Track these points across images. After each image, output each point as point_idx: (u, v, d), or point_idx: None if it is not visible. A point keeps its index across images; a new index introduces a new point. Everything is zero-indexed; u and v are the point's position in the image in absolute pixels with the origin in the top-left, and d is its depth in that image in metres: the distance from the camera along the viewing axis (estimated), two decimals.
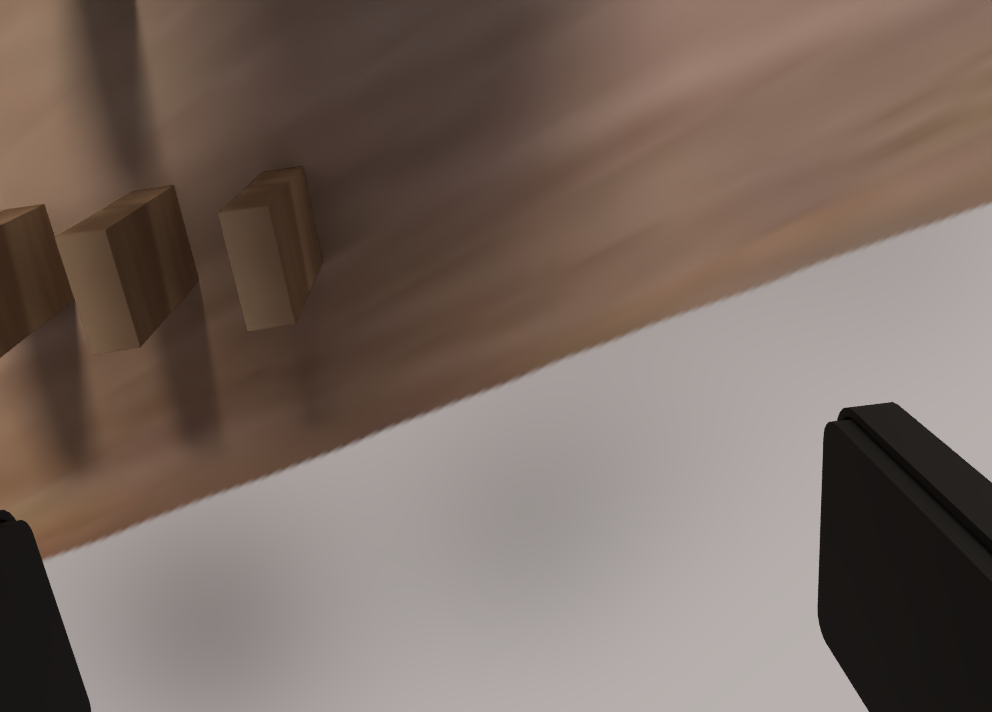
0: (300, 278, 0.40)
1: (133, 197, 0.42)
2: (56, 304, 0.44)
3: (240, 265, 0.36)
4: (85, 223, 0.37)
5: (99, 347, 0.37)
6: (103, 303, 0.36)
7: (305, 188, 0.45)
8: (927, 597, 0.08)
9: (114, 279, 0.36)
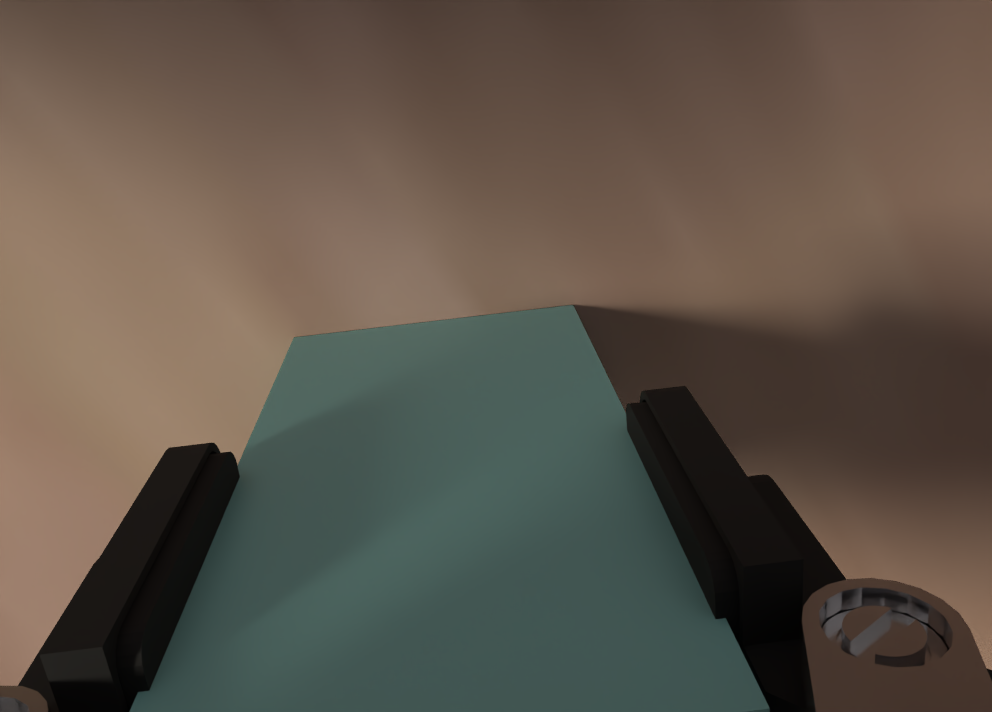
0: None
1: None
2: None
3: None
4: None
5: None
6: None
7: None
8: None
9: None
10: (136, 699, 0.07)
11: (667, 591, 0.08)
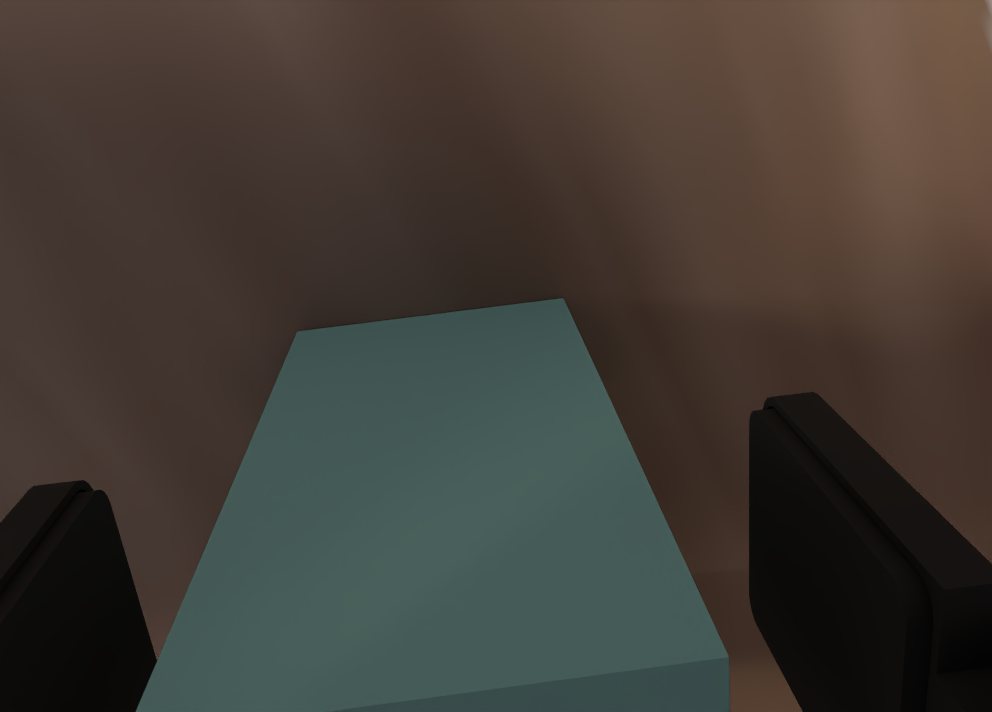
0: None
1: None
2: None
3: None
4: None
5: None
6: None
7: None
8: (830, 575, 0.09)
9: None
10: (161, 658, 0.08)
11: (642, 557, 0.09)
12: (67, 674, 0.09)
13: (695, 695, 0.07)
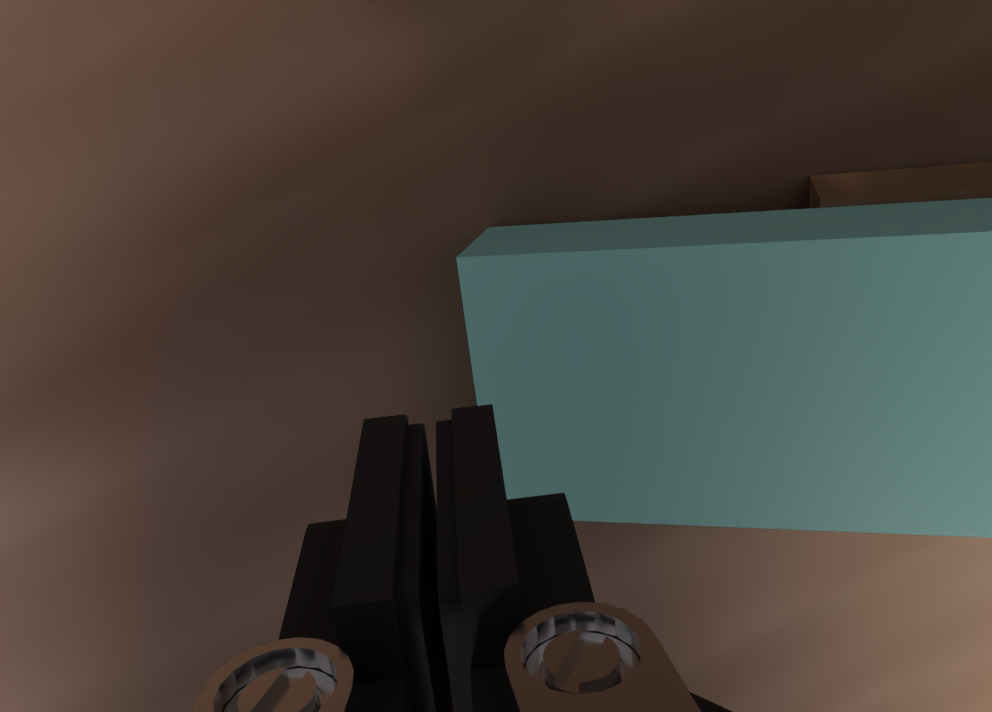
0: None
1: None
2: None
3: None
4: None
5: None
6: None
7: None
8: None
9: None
10: None
11: None
12: (434, 584, 0.10)
13: None
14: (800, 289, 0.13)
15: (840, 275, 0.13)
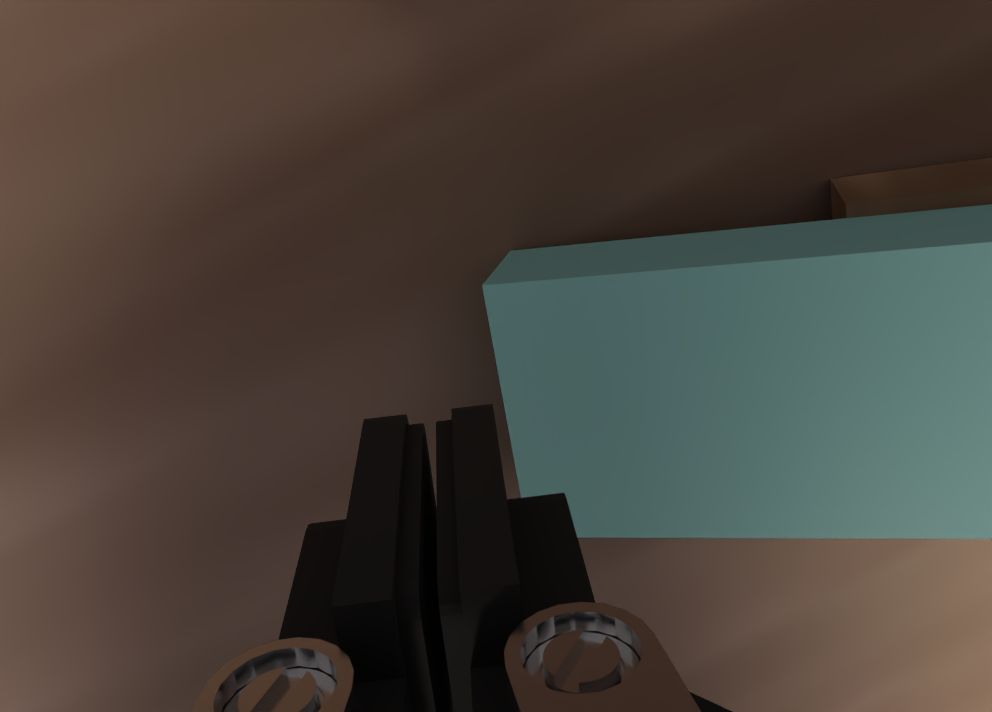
0: None
1: None
2: None
3: None
4: None
5: None
6: None
7: None
8: None
9: None
10: None
11: None
12: (434, 584, 0.10)
13: None
14: (826, 303, 0.14)
15: (865, 288, 0.13)
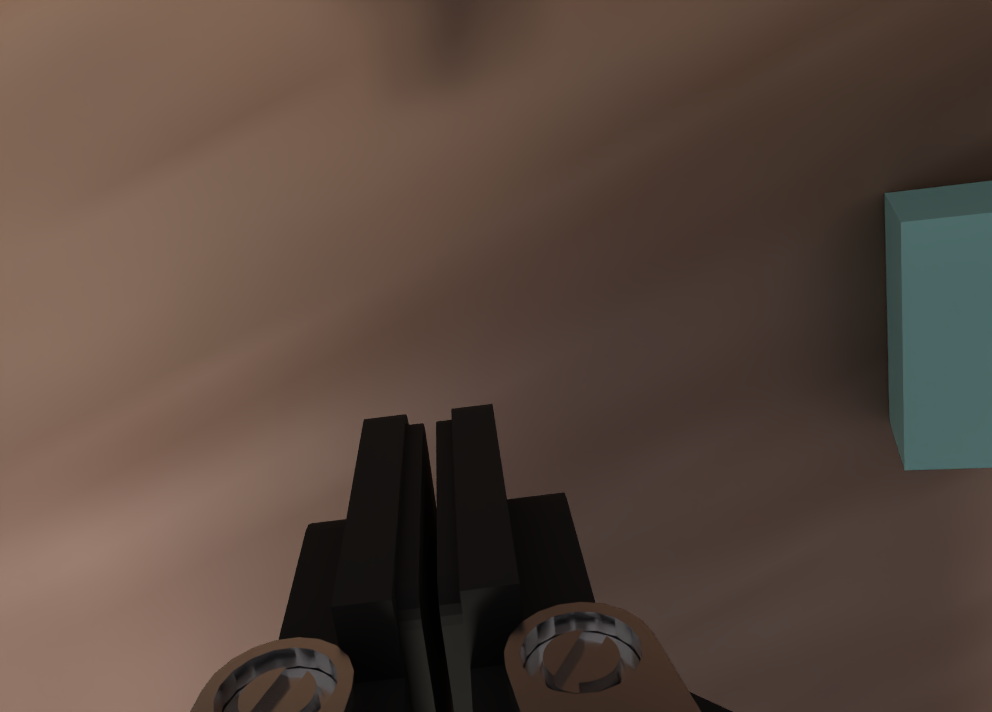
0: None
1: None
2: None
3: None
4: None
5: None
6: None
7: None
8: None
9: None
10: None
11: None
12: (435, 584, 0.10)
13: None
14: None
15: None
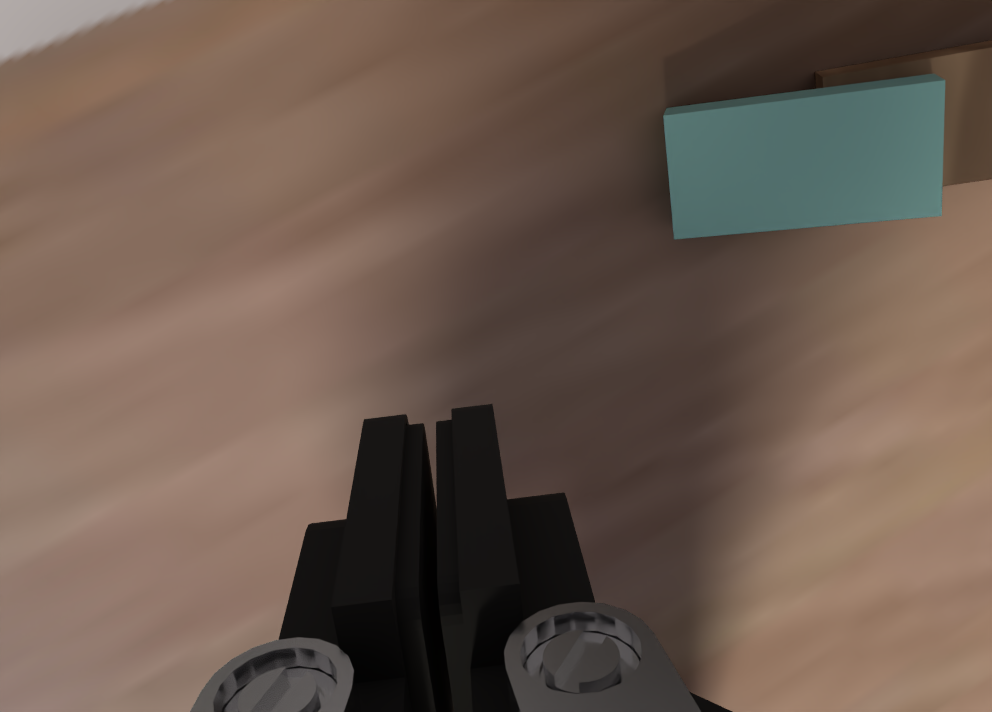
0: None
1: None
2: None
3: None
4: None
5: None
6: None
7: None
8: None
9: None
10: (913, 217, 0.34)
11: (898, 96, 0.33)
12: (434, 584, 0.10)
13: None
14: (810, 117, 0.34)
15: (825, 110, 0.33)
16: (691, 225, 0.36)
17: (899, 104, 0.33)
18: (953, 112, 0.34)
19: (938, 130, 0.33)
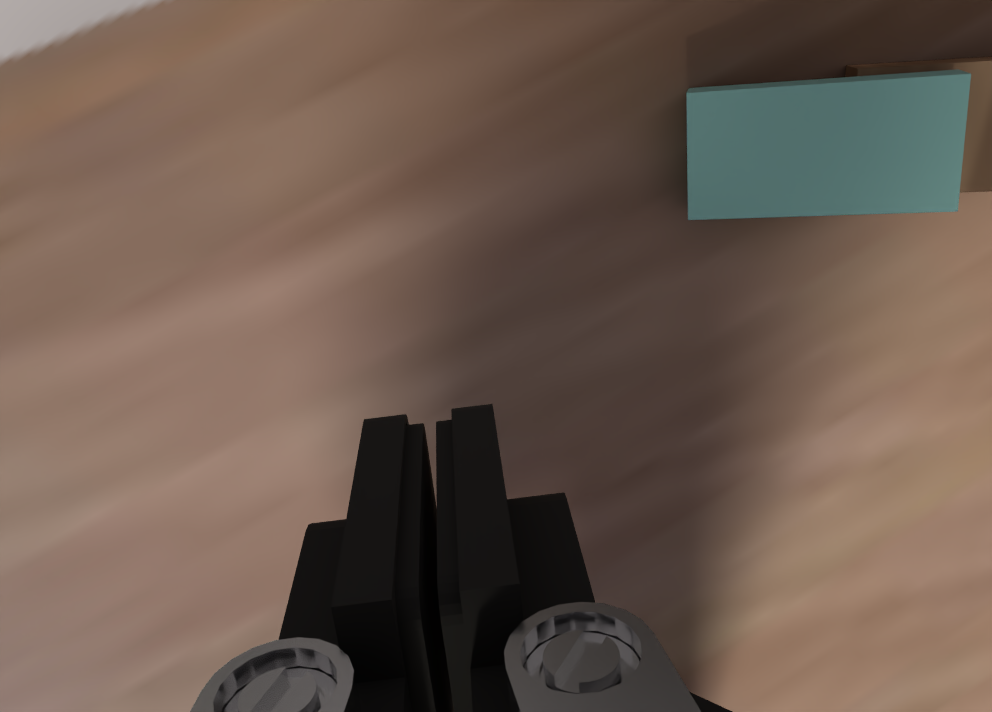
0: None
1: None
2: None
3: None
4: None
5: None
6: None
7: None
8: None
9: None
10: (929, 211, 0.34)
11: (923, 87, 0.33)
12: (434, 584, 0.10)
13: None
14: (833, 103, 0.33)
15: (849, 97, 0.33)
16: (706, 206, 0.36)
17: (923, 95, 0.33)
18: (979, 119, 0.35)
19: (960, 124, 0.33)
